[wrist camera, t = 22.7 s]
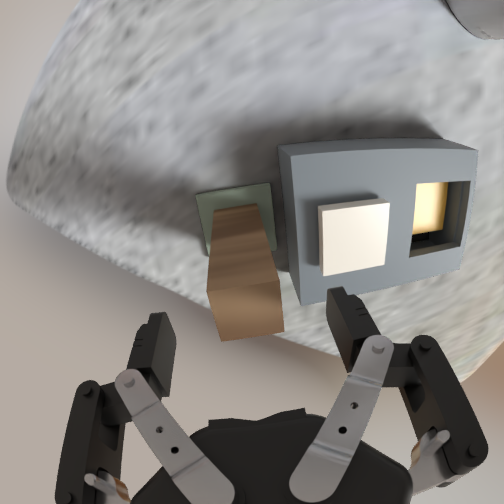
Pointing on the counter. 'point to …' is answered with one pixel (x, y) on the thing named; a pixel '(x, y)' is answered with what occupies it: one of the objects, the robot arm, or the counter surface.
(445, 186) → the plunger
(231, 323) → the tall wooden block
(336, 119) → the counter surface
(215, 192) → the rubber mat
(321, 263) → the on button
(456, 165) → the switch panel
